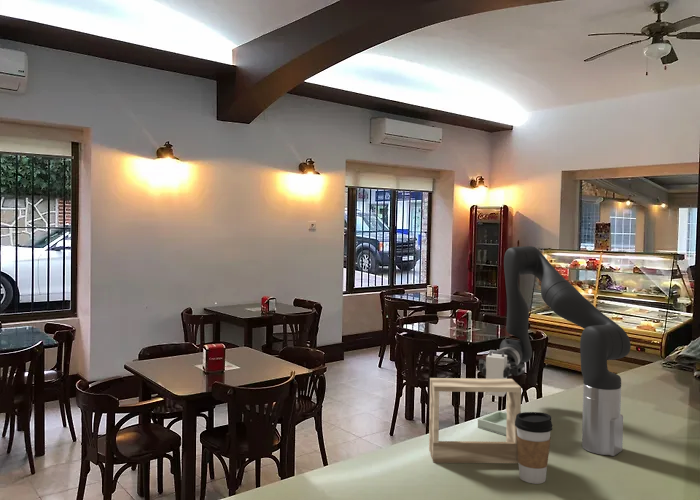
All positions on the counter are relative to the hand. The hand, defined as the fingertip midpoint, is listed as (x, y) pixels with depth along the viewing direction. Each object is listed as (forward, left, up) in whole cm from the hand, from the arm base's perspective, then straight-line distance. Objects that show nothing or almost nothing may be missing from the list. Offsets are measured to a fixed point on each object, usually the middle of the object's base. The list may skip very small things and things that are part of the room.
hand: (494, 373), depth 162 cm
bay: (-5, +19, -17) cm, 26 cm away
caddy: (+1, -2, -6) cm, 7 cm away
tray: (0, -6, -17) cm, 18 cm away
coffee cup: (-22, +20, -18) cm, 34 cm away
